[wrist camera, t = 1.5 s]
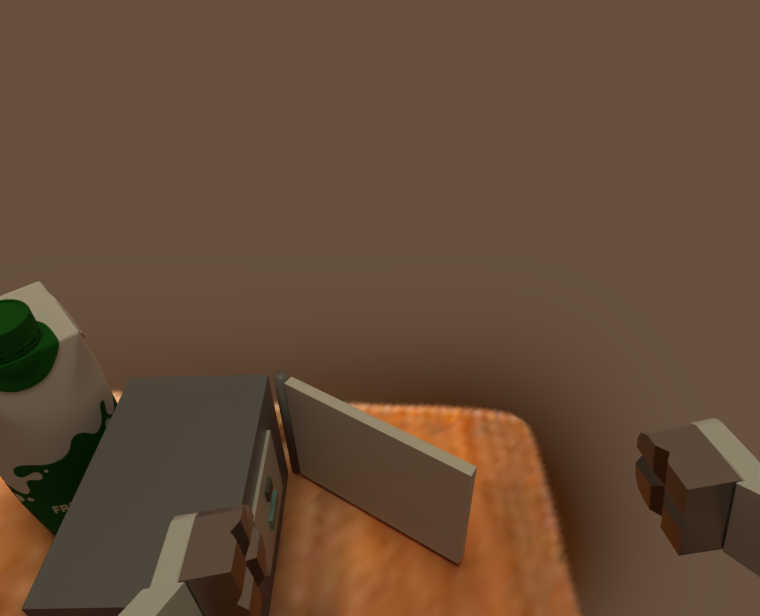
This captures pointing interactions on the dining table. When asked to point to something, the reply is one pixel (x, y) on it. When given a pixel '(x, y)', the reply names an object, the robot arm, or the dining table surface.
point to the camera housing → (164, 488)
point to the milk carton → (47, 403)
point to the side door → (378, 466)
